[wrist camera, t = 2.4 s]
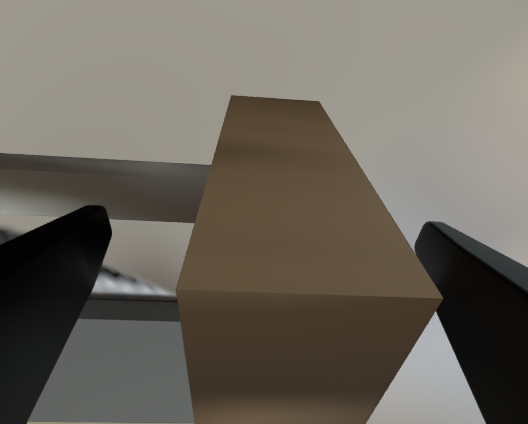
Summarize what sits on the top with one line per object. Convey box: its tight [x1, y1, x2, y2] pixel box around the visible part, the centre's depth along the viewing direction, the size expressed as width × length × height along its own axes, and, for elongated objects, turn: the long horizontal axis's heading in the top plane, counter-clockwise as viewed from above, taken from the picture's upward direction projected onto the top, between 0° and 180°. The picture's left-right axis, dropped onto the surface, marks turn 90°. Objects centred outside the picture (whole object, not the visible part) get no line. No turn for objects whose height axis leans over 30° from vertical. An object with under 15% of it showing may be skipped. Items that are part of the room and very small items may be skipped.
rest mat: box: [28, 299, 194, 423], centre depth 16 cm, size 10×18×1 cm, turn 86°
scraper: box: [0, 95, 443, 424], centre depth 7 cm, size 7×14×7 cm, turn 86°
